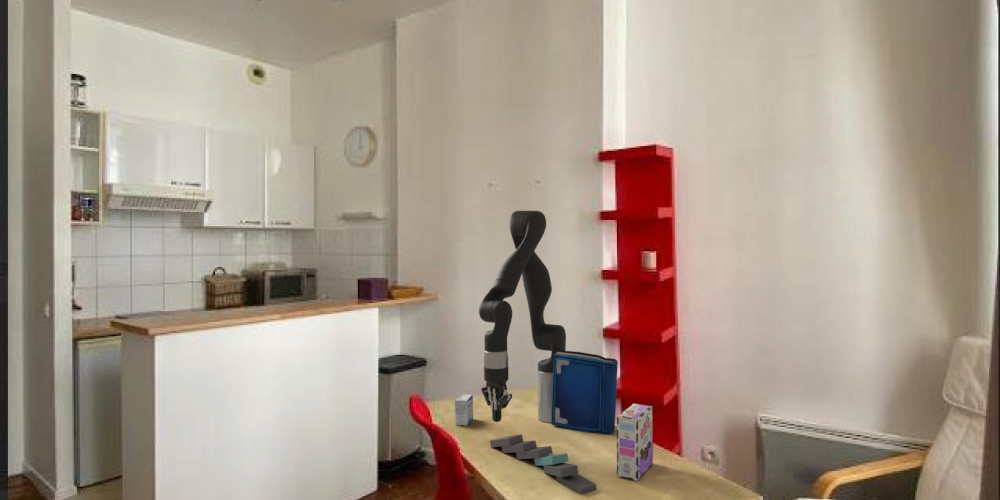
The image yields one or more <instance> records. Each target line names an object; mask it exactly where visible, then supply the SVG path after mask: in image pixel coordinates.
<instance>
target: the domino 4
mask: <svg viewBox="0 0 1000 500" xmlns="http://www.w3.org/2000/svg"><path fill="white" fill-rule="evenodd" d="M533 461H534V466H543V465H554V464H558V463H568V462H569V456H568V453H557V454H554V453H553V454H550V455H547V456H544V457H541V458H533Z"/></svg>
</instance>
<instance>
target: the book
mask: <svg viewBox="0 0 1000 500" xmlns="http://www.w3.org/2000/svg"><path fill="white" fill-rule="evenodd" d="M618 364H619V362H618V359H615V358H611V357H605V356H601V355H600V354H593V353H586V352H581V351H573V350H565V351H562V350H560V352H557V353H556V354H554V363H553V390H552V416H551V423H550V424H551V425H553V426H557V427H560V428H564V429H567V430H574V431H579V430H580V431H581V432H585V431H587V432H586V433H600V434H602V435H610V434H613V433H614V432H615V428H616V409H617V408H616V406H617V385H618V367H619V366H618ZM612 432H613V433H612Z"/></svg>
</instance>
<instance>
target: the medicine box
mask: <svg viewBox="0 0 1000 500" xmlns="http://www.w3.org/2000/svg"><path fill="white" fill-rule="evenodd" d="M454 415H455V418H454V420H455V425H456V426H461V425H463V426H465V427H466V426H469V425H470V423H471V422H472V421H473V419H474V396H473V394H461V395H460V396H458V397H457V398H456V400H455V401H454Z"/></svg>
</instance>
